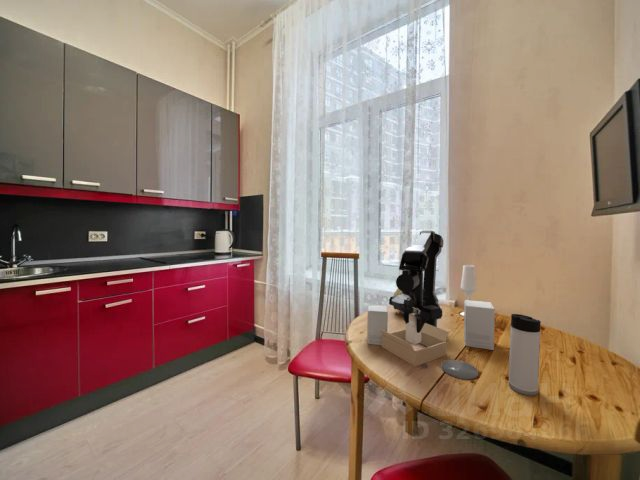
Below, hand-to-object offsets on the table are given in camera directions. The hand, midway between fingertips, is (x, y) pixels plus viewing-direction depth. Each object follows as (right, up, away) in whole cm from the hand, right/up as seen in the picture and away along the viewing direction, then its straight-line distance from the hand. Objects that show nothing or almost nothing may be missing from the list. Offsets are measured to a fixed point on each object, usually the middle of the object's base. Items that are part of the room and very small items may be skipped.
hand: (413, 330), depth 93 cm
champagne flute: (+40, -5, +38) cm, 55 cm away
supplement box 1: (-11, -7, +9) cm, 16 cm away
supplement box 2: (+26, -7, +6) cm, 28 cm away
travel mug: (+22, -9, -21) cm, 32 cm away
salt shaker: (0, -4, 0) cm, 4 cm away
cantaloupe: (+11, -5, +39) cm, 41 cm away
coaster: (+10, -8, -12) cm, 17 cm away
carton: (0, -7, 0) cm, 7 cm away
